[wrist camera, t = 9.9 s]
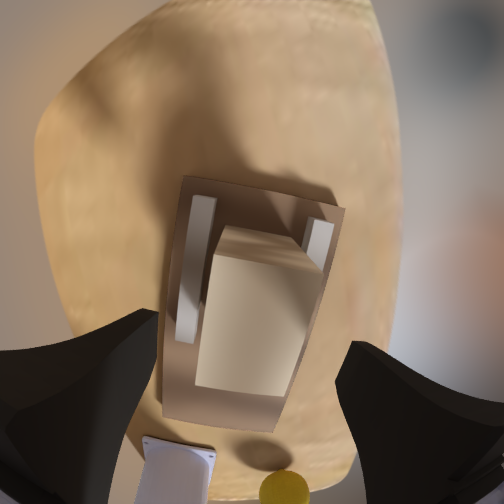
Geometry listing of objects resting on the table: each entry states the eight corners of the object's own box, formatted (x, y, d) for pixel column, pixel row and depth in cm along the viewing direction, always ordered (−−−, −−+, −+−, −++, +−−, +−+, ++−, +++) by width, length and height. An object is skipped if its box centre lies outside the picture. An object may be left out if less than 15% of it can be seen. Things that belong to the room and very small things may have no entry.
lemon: (249, 466, 24) (252, 521, 16) (294, 453, 24) (305, 511, 16) (268, 482, 25) (273, 530, 17) (309, 470, 25) (320, 520, 17)
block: (291, 237, 16) (324, 274, 10) (269, 324, 18) (283, 396, 11) (225, 224, 16) (213, 254, 9) (210, 314, 18) (195, 385, 11)
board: (271, 423, 22) (274, 444, 19) (165, 407, 21) (159, 428, 18) (339, 206, 17) (354, 210, 15) (187, 175, 17) (177, 174, 14)
